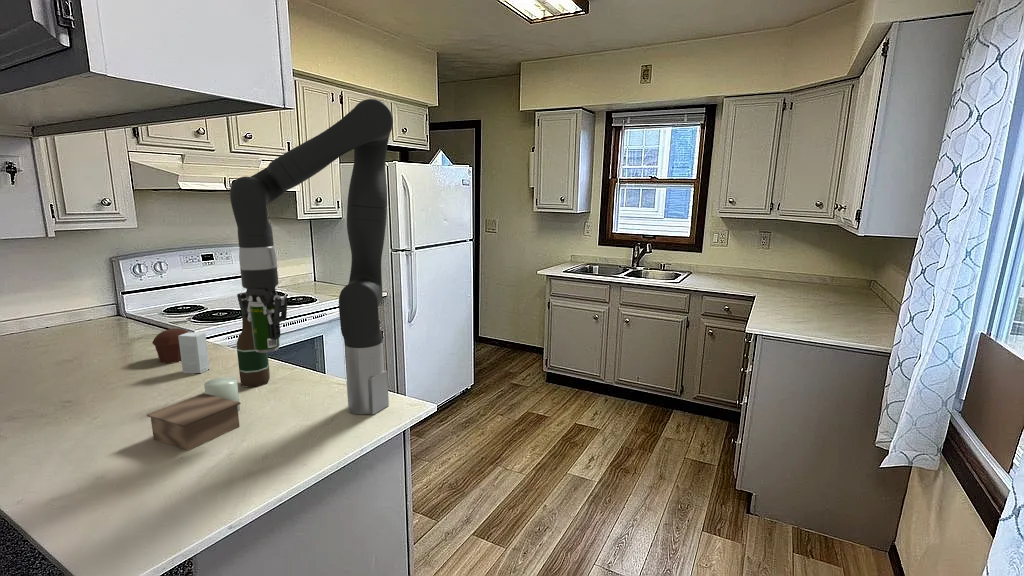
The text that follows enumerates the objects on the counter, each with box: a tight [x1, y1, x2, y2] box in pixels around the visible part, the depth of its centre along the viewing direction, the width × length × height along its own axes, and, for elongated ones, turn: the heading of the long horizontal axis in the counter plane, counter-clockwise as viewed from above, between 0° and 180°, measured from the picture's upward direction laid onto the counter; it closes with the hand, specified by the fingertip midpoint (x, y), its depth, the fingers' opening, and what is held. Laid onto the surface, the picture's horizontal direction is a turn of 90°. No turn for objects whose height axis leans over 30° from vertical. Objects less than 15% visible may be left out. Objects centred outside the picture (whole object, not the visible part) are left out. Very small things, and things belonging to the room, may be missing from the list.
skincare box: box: [178, 331, 211, 374], centre depth 150 cm, size 6×4×12 cm
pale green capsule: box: [203, 376, 241, 413], centre depth 122 cm, size 7×7×8 cm
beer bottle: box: [236, 307, 271, 388], centre depth 140 cm, size 8×8×24 cm
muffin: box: [151, 328, 191, 364], centre depth 162 cm, size 12×11×10 cm
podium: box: [146, 392, 241, 451], centre depth 111 cm, size 13×13×6 cm
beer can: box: [250, 301, 280, 353], centre depth 114 cm, size 5×5×12 cm
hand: (266, 337), depth 115 cm, fingers closed on beer can, 5 cm apart
